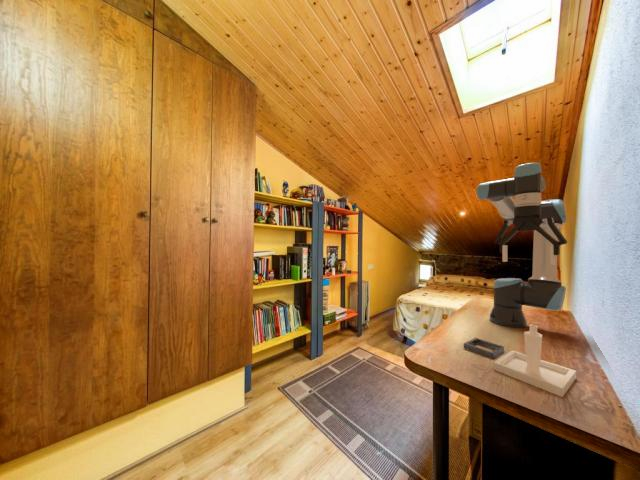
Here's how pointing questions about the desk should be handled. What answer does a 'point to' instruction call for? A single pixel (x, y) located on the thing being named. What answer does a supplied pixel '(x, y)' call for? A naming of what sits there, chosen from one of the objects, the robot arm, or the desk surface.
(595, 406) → the desk surface
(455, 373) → the desk surface
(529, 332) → the perfume bottle
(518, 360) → the tray
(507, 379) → the desk surface
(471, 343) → the ring collar
